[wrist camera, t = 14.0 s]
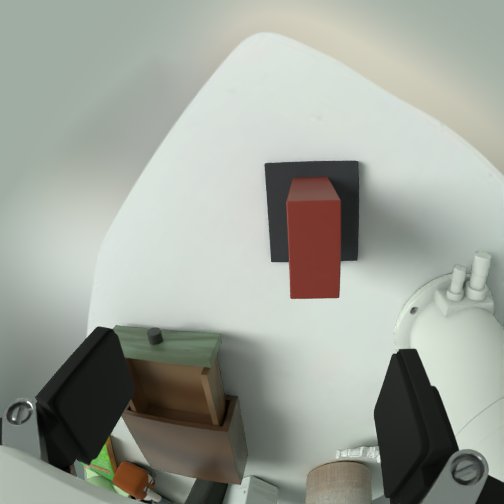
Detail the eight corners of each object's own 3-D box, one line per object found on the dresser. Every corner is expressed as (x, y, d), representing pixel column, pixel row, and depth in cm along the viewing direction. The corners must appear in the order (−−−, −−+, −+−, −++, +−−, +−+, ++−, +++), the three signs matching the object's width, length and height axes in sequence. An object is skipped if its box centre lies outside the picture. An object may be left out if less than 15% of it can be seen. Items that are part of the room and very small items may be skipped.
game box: (112, 432, 49) (120, 477, 55) (71, 411, 49) (85, 460, 56) (105, 442, 46) (115, 486, 52) (64, 420, 47) (80, 468, 53)
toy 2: (173, 491, 55) (155, 471, 48) (161, 513, 50) (140, 497, 42) (139, 476, 58) (117, 453, 50) (128, 497, 52) (102, 477, 44)
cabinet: (137, 383, 40) (119, 412, 34) (238, 396, 37) (227, 432, 32) (163, 441, 45) (151, 468, 39) (248, 454, 42) (241, 485, 37)
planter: (358, 487, 43) (358, 529, 34) (301, 484, 44) (296, 528, 36) (379, 459, 39) (384, 507, 30) (315, 457, 40) (312, 508, 32)
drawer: (113, 316, 35) (94, 336, 31) (218, 324, 32) (207, 349, 28) (144, 401, 40) (132, 422, 36) (234, 414, 37) (227, 439, 34)
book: (292, 177, 26) (285, 201, 17) (328, 176, 26) (340, 200, 16) (295, 245, 28) (290, 300, 19) (329, 244, 28) (339, 300, 19)
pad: (265, 163, 27) (264, 163, 26) (357, 160, 25) (358, 161, 25) (271, 259, 30) (271, 262, 29) (356, 258, 28) (357, 260, 28)
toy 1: (160, 532, 52) (164, 488, 57) (104, 549, 36) (105, 501, 42) (108, 499, 61) (111, 458, 66) (55, 506, 45) (55, 460, 51)
